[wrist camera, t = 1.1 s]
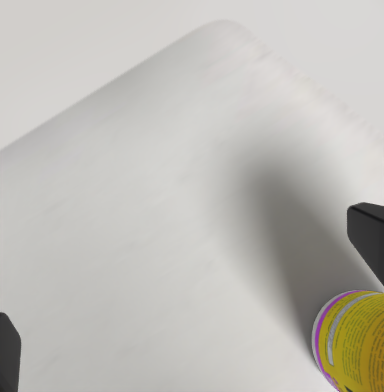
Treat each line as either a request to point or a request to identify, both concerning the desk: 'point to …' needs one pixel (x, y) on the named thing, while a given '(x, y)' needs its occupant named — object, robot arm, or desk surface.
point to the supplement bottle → (351, 341)
